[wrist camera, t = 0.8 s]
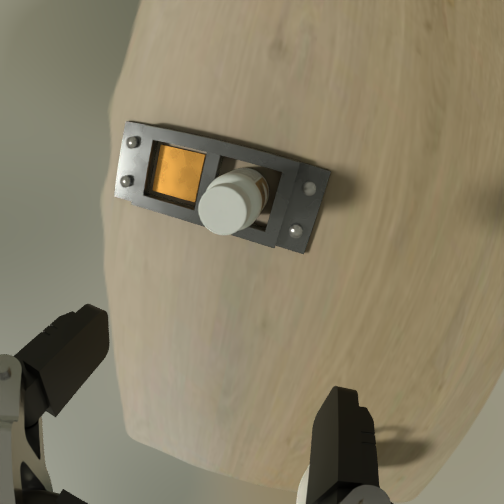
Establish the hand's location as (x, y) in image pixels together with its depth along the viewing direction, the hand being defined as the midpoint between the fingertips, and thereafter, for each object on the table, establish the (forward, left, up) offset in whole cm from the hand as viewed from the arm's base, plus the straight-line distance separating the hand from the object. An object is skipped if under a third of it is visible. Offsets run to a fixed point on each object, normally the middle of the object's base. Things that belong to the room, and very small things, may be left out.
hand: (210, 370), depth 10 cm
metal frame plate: (-1, -7, -20) cm, 21 cm away
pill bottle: (-1, -3, -20) cm, 21 cm away
